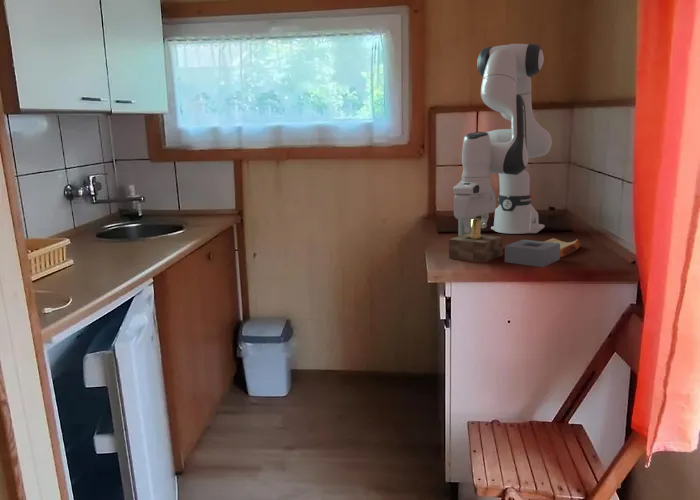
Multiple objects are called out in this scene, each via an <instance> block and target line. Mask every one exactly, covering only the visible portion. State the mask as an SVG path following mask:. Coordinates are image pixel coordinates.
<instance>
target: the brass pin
mask: <svg viewBox="0 0 700 500" xmlns="http://www.w3.org/2000/svg"><path fill="white" fill-rule="evenodd" d="M471 227H472V232H471V239H472V240H480V235H481V229H482V228H481V218H478V219H471Z"/></svg>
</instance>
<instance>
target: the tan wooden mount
mask: <svg viewBox="0 0 700 500" xmlns="http://www.w3.org/2000/svg"><path fill="white" fill-rule="evenodd" d="M502 246H503V237H502V236H496V235H487V234H486V235H485V234H480V240H472V239H471V234H465V235H462V236H459V235H458V236H454V237H453V238H450V239H448V259H453V260H461V261H469V262H476V263H487V262H489V261H491V260H494V259H497V258H499V257H502V255H503V254H502V253H503V250H502V249H503V247H502Z"/></svg>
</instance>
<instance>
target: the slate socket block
mask: <svg viewBox="0 0 700 500" xmlns="http://www.w3.org/2000/svg"><path fill="white" fill-rule="evenodd" d="M560 259H561V257H560V243H552V242H543V240H542V241H541V240H532V239H520V240H518V241H515V242H511V243H509V244H506V245H504V263H508V264H516V265H522V266H523V265H524V266H529V267H530V266H532V267H540V268H544V267H547V266H549V265H551V264H553V263H555V262H557V261H559V260H560Z"/></svg>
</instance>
